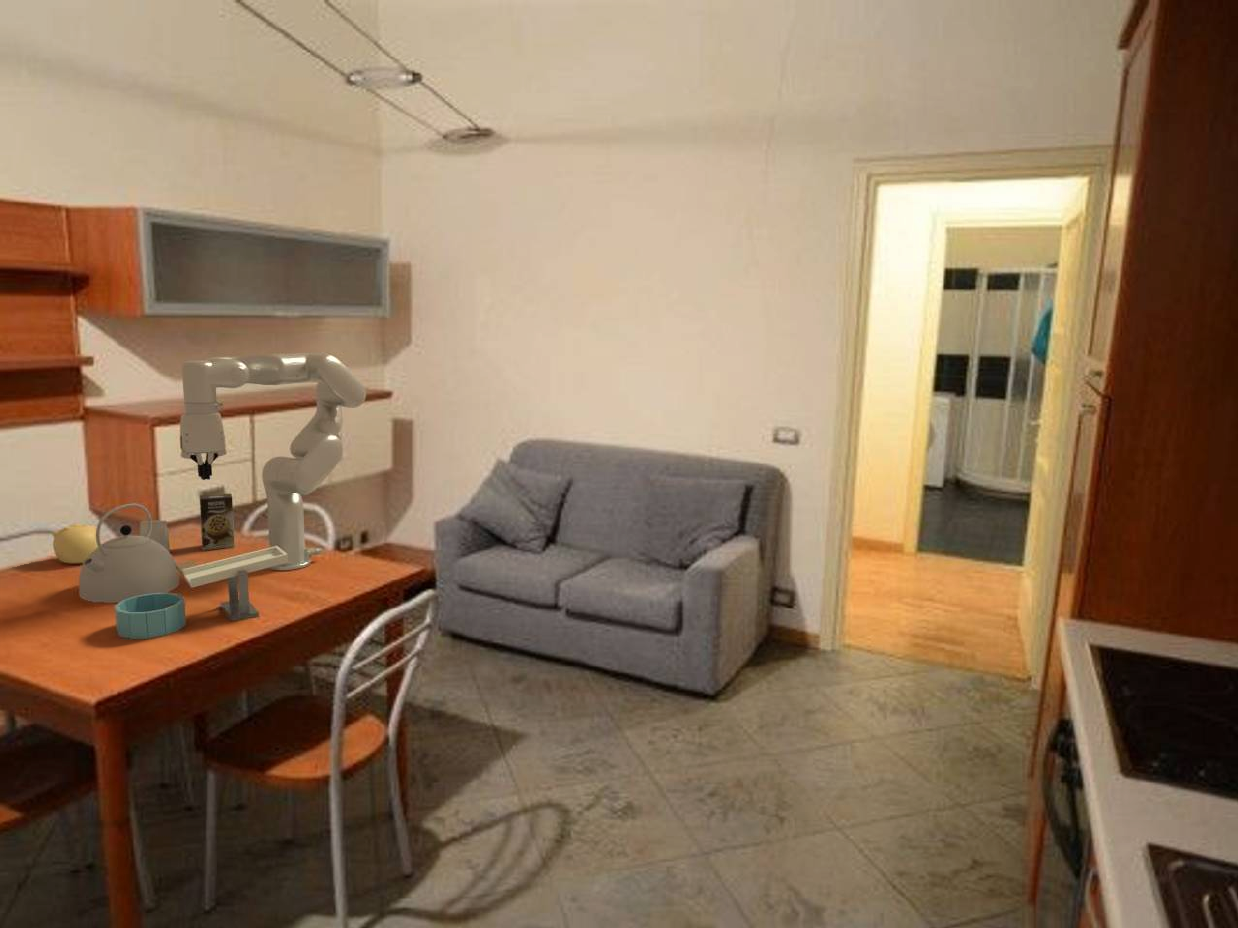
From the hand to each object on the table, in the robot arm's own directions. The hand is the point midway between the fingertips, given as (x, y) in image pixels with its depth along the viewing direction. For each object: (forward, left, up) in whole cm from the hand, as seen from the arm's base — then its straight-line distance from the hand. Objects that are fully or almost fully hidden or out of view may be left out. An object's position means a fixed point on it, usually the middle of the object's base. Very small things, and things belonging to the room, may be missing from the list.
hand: (205, 478), depth 216 cm
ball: (+14, +24, -26) cm, 38 cm away
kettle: (+19, -8, -30) cm, 36 cm away
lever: (-1, +19, -20) cm, 28 cm away
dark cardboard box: (-10, -38, -29) cm, 49 cm away
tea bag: (+7, -40, -29) cm, 50 cm away
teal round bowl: (+18, +24, -29) cm, 42 cm away
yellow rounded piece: (+26, -43, -29) cm, 58 cm away
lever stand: (-1, +24, -29) cm, 38 cm away
